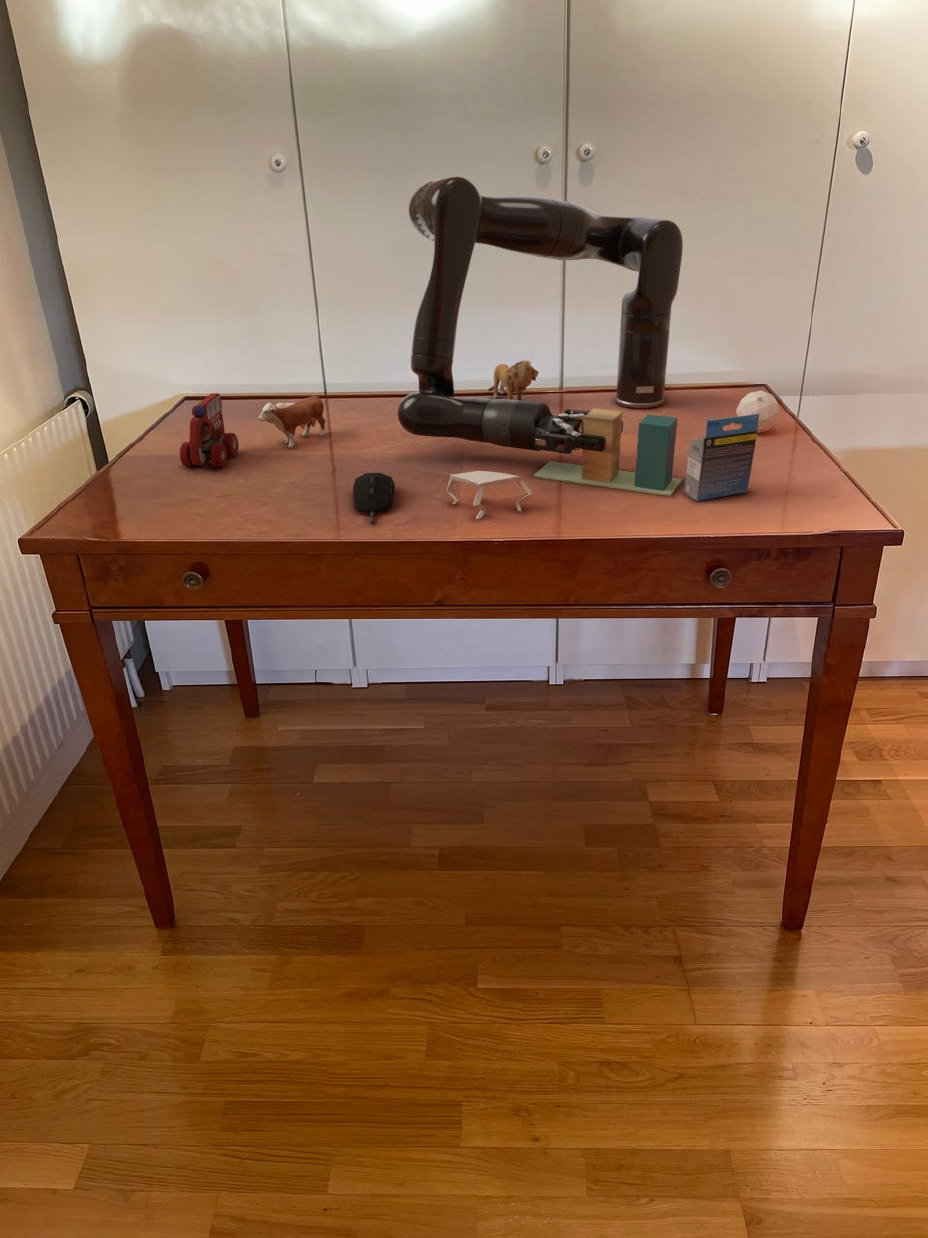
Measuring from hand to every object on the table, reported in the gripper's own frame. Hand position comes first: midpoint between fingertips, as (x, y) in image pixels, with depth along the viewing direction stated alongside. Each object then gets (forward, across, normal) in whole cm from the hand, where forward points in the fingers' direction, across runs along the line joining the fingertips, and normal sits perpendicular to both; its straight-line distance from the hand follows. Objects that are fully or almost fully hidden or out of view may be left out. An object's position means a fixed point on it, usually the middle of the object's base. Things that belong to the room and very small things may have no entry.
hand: (613, 435), depth 135 cm
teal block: (+7, 0, +7) cm, 10 cm away
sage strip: (-1, 0, +7) cm, 7 cm away
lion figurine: (-32, +34, +7) cm, 47 cm away
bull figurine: (-58, -3, +7) cm, 58 cm away
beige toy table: (-13, -18, +7) cm, 23 cm away
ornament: (+16, +32, +7) cm, 37 cm away
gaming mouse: (-30, -23, +7) cm, 38 cm away
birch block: (-2, 0, +7) cm, 7 cm away
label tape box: (+16, 0, +7) cm, 18 cm away
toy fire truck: (-66, -17, +7) cm, 68 cm away
